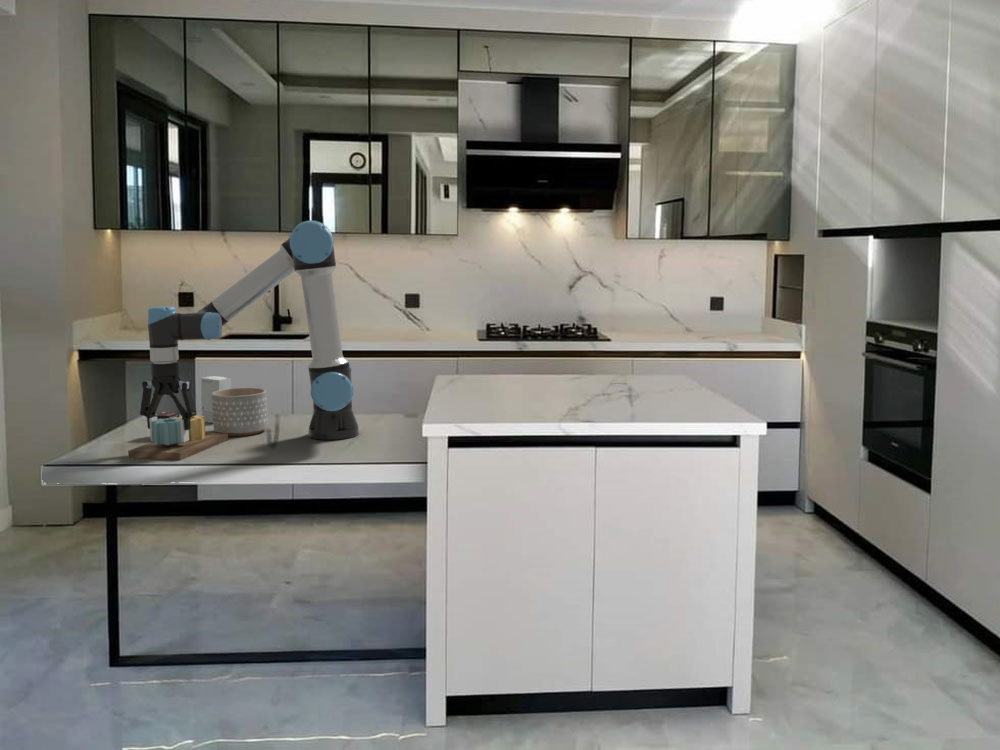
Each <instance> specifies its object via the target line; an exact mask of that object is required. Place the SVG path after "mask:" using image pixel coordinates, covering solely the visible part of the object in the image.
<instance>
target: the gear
mask: <svg viewBox="0 0 1000 750" xmlns="http://www.w3.org/2000/svg"><path fill="white" fill-rule="evenodd" d="M180 419H181V418H168V419H157V421H151V425H152V441H151V442H153V443H154V442H155V444H156V445H158V444H165V445H169V444H174V443H178V444H179V443H182V442H181V426H180Z"/></svg>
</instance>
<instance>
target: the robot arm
mask: <svg viewBox="0 0 1000 750" xmlns="http://www.w3.org/2000/svg"><path fill="white" fill-rule="evenodd" d="M334 244H335V243H334V236H333V234H332V231H331V230H330V229H329V227H328V226H327V225H325V224H324V223H322V222H320V221H318V220H314V219H313V220H306V221H305V220H304V221H301V222H300V223H298V224H297V225H296V226H295V227H294V228H293V229H292V231H291V234H290V236H289V238H288V239H286V240H284V242H282V243H281V244H280V246H279V250H277V252H275V253H274V254H272V255H271V256H270V257H268V258H267V259H266V260H265V261H263V262H262V263H261V264H259V265H258V266H257V267H256V268H254V269H252V270H251V271H250V272H249V273H247V274H246V275H245V276H243V277H242V278H241V279H239V280H238V281H237V282H235V284H233V285H231V286H230V287H229V288H227V289H226V290H225V291H224V292H222V293H221V294H220V295H218V296H217V297H216V298H214V299H213V300H212V301H210V302H209V303H208V304H206V305H205V306H203V307H202V308H201V309H199V310H198V311H197V312H188V313H186V312H185V313H183V312H182V313H180V312H178V311H177V309H176V307H175V306H170V305H169V306H168V305H166V306H165V305H163V306H151V307H150V308H148V311H147V330H148V342H149V357H150V358H149V360H150V362H151V364H150V374H151V376H152V379H151V380H144V381H142V382H141V383H142V384H141V386H142V396H141V403H140V409H139V410H140V411H139V414H140V415H141V416H144V417H146V420H147V421H146V422H147V428H148V429H149V433H150V441H151V442H153V441H152V425H151V421H157V417H154V416H156V415H155V414H157V410H158V407H159V405H160V402H161V400H162V397H163V396H164V395H165V396H166V395H167V396H170V398H171V399H172V400H173V402H174V404H175V405H176V408H177V410H178V412H179V415H181V416H180V417H182V418H181V419H180V426H181V442H186V441H189V431H188V430H189V429H190V428H191V423H190V418H191V417H193V416H195V415H198V414H197V410H196V406H195V402H194V398H193V396H192V391H191V385H192V384H191V382H190V381H183V380H181V378H180V374H181V372H180V370H181V369H180V363H179V361H178V360H180V359H179V358H180V355H179V341H185V340H187V341H190V340H191V341H194V340H199V341H201V340H207V341H211V340H217V339H221V337H222V335H223V334H222V333H223V326H225V325H226V324H227V323H228V322H230V321H232V320H233V319H234V318H235V317H237V316H238V315H239V314H240V313H242V312H243V311H245V310H246V309H247V308H249V307H250V306H251V305H253V304H254V303H255V302H256V301H258V300H259V299H260V298H261V297H263V296H265V294H267V293H268V292H270V291H271V290H272V289H274V288H275V287H277V286H278V285H279V284H280V283H281V282H283V281H284V280H285V279H287V278H288V277H290V276H291V275H293V274H294V273H297V274H298V276H299V277H300V278H301V279H300V280H301V287H302V291H303V293H302V294H303V299H304V306H305V307H304V309H305V315H306V321H307V329H308V336H309V343H310V348H311V349H310V350H311V356H312V357H311V358H312V360H311V362H310V363H309V364H308V367H307V368H308V373H309V381H310V383H309V384H310V397H311V399H312V402H313V403H312V405H313V406H312V407H313V412H312V415H311V418H310V422H309V426H308V437H309V438H311V439H315V440H320V441H321V440H324V441H326V440H328V441H329V440H333V441H335V440H345V439H350V438H353V437H357V436H359V435H360V434H359V433H360V431H359V430H360V429H359V424H358V422H357V418H356V416H355V414H354V411H353V399H352V398H353V396H354V386H353V382H352V367H351V363H350V361H349V360H348V359H347V358H346V357H344V355H343V348H342V341H341V334H340V327H339V318H338V310H337V304H336V303H337V302H336V297H335V288H334V282H333V272H334V270H335V269H336V268H337V264H336V255H335V248H334ZM153 388H154V392H153ZM179 388H180V389H179ZM152 392H153V395H152ZM151 398H152V399H151Z"/></svg>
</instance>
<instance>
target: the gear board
mask: <svg viewBox="0 0 1000 750" xmlns="http://www.w3.org/2000/svg"><path fill="white" fill-rule="evenodd" d="M205 435H206V437H204V439H197V440H195V441H186V442H182V443H179V444H178V443H174V444H169V445H165V444H158V445H156V444H155V442H154V443H153V441H151V442H147V443H146V444H143V445H140V446H138V447H137V446H136V447H134V448H132V449H130V450H128V451H127V453H128V458H130V459H148V460H149V459H150V460H171V461H172V460H173V461H182V460H184V459H187V458H189V457H191V455H192V456H194V455H197V454H198V452H199V453H200V451H201V452H203V451H206V450H208V449H210V448H213V447H215V446H217V445H219V443H220V444H222V443H225V442H227V441H228V440H229V436H228V433H219V432H205ZM212 446H213V447H212ZM207 448H208V449H207ZM205 449H206V450H205ZM193 454H194V455H193ZM188 456H189V457H188ZM186 457H187V458H186Z"/></svg>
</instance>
